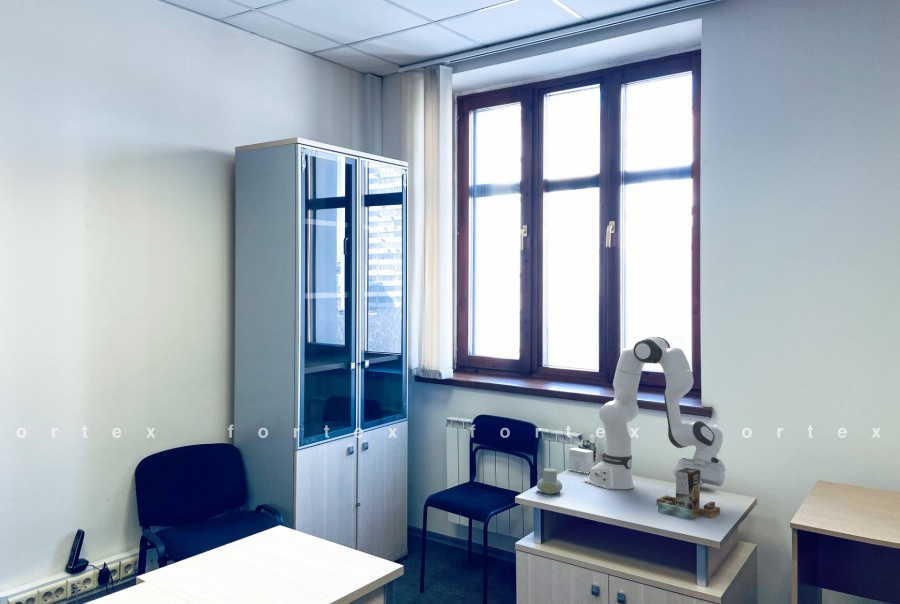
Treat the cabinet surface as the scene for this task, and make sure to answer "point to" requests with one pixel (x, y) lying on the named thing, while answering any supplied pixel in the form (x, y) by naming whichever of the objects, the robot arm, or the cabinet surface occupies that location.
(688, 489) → the coffee box
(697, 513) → the lane
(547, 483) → the air freshener
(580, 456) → the skincare box
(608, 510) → the cabinet surface
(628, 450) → the robot arm
